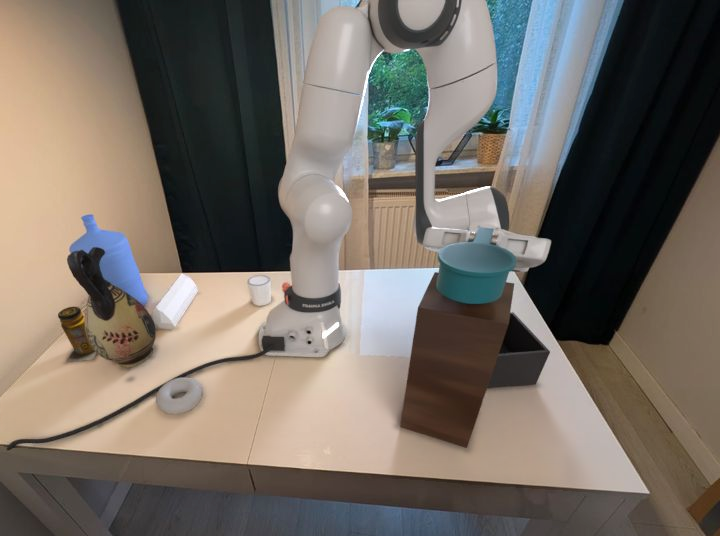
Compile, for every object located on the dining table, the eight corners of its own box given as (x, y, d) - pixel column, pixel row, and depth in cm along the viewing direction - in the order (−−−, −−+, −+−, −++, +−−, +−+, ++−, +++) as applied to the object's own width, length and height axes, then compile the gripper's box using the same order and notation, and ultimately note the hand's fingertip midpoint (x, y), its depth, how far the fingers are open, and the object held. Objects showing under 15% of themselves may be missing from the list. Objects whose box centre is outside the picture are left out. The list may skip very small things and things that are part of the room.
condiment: (105, 340, 104) (87, 303, 97) (93, 359, 98) (73, 321, 90) (79, 342, 104) (59, 305, 97) (66, 362, 98) (43, 324, 90)
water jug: (156, 291, 124) (126, 205, 107) (137, 318, 112) (100, 225, 95) (111, 293, 126) (75, 208, 109) (88, 319, 114) (43, 228, 97)
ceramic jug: (112, 341, 103) (62, 236, 85) (168, 335, 104) (130, 228, 85) (91, 384, 90) (26, 269, 72) (155, 376, 90) (107, 260, 72)
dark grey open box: (466, 390, 78) (476, 357, 73) (442, 348, 90) (449, 317, 84) (535, 384, 78) (550, 351, 73) (502, 343, 89) (513, 312, 84)
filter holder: (451, 243, 68) (456, 215, 65) (513, 250, 64) (522, 221, 61) (426, 298, 54) (431, 266, 51) (503, 311, 50) (514, 278, 47)
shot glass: (274, 294, 116) (271, 274, 112) (271, 306, 111) (268, 285, 107) (252, 295, 117) (249, 274, 113) (248, 306, 112) (245, 286, 108)
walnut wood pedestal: (414, 386, 80) (434, 271, 64) (475, 403, 76) (514, 283, 59) (399, 427, 72) (417, 307, 56) (466, 448, 67) (508, 323, 51)
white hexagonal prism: (175, 321, 101) (203, 279, 120) (149, 310, 100) (181, 269, 119) (169, 340, 106) (196, 296, 124) (144, 330, 105) (176, 287, 123)
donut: (148, 408, 82) (181, 424, 78) (143, 397, 80) (176, 412, 75) (181, 380, 89) (213, 393, 84) (177, 369, 87) (209, 382, 82)
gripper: (431, 227, 78) (422, 212, 65) (546, 239, 69) (561, 224, 57) (423, 258, 79) (414, 249, 66) (536, 273, 70) (548, 267, 58)
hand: (483, 238), depth 62 cm, fingers closed on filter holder, 2 cm apart
